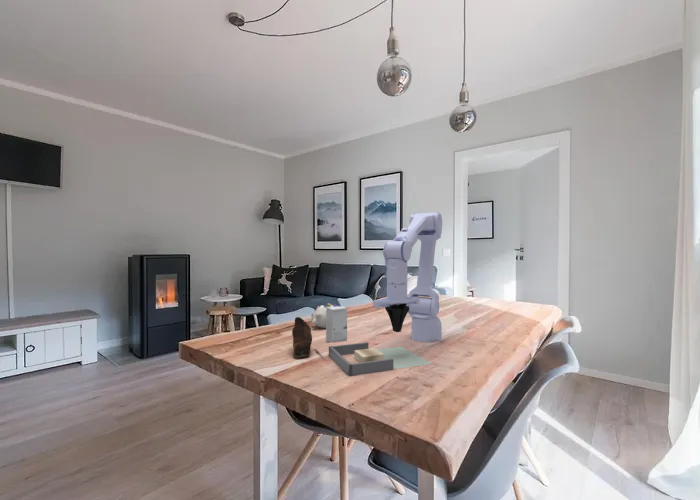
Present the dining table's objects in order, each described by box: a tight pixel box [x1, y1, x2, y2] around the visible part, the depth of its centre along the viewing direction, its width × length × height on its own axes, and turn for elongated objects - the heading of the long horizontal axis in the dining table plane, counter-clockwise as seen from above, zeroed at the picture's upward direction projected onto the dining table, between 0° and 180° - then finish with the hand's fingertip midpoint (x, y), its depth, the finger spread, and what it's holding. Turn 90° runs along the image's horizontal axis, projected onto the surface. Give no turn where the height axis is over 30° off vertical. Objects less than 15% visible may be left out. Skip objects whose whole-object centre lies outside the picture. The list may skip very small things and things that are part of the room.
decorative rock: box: [291, 316, 313, 359], centre depth 101 cm, size 12×6×11 cm, turn 6°
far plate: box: [376, 346, 432, 370], centre depth 93 cm, size 11×16×2 cm
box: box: [328, 341, 394, 377], centre depth 89 cm, size 12×16×4 cm
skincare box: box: [325, 305, 348, 344], centre depth 110 cm, size 6×4×12 cm
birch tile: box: [353, 347, 384, 363], centre depth 90 cm, size 6×6×3 cm
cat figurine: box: [311, 302, 335, 329], centre depth 134 cm, size 10×8×15 cm
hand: (396, 331), depth 94 cm, fingers closed
